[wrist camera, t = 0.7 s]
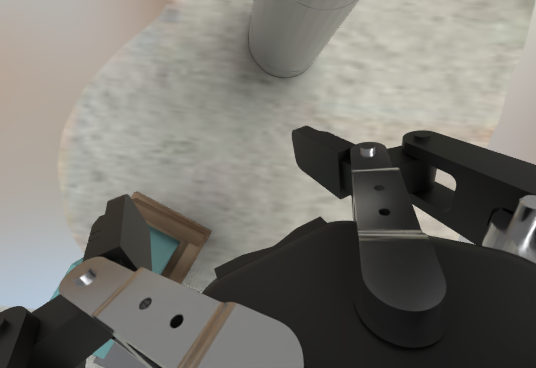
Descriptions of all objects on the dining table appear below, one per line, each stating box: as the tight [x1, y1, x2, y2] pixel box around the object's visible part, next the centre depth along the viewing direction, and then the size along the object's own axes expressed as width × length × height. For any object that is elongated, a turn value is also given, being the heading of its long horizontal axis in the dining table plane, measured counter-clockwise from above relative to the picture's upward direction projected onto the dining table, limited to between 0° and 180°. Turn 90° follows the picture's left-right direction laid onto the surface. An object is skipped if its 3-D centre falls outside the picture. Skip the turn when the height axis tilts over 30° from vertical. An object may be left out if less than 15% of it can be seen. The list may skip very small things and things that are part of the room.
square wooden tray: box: [131, 192, 211, 284], centre depth 31 cm, size 10×10×3 cm
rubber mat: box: [93, 343, 148, 368], centre depth 32 cm, size 9×9×1 cm
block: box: [51, 224, 181, 359], centre depth 24 cm, size 5×5×14 cm
